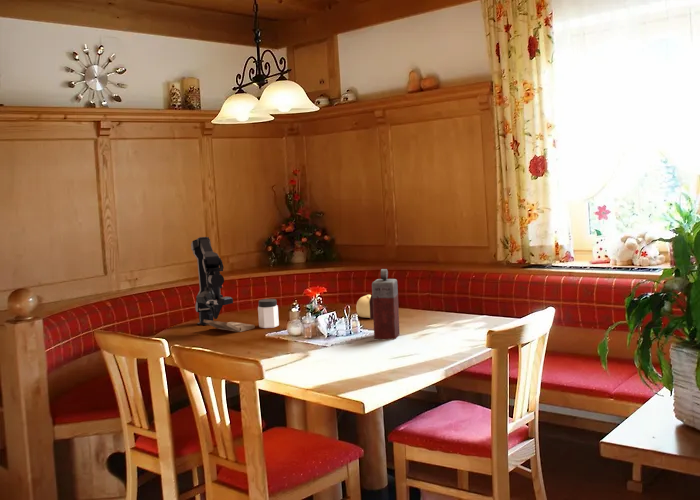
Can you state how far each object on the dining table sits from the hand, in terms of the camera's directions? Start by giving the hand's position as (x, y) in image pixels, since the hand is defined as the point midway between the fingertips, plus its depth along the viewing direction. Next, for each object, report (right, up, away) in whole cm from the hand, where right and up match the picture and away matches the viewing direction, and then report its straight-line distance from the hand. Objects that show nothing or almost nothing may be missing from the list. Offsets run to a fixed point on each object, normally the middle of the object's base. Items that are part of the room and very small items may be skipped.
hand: (215, 318), depth 340 cm
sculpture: (+69, -1, +19) cm, 71 cm away
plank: (+2, -4, +2) cm, 5 cm away
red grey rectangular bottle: (+74, -5, -23) cm, 77 cm away
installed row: (+8, -5, +9) cm, 13 cm away
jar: (+23, -4, +10) cm, 25 cm away
